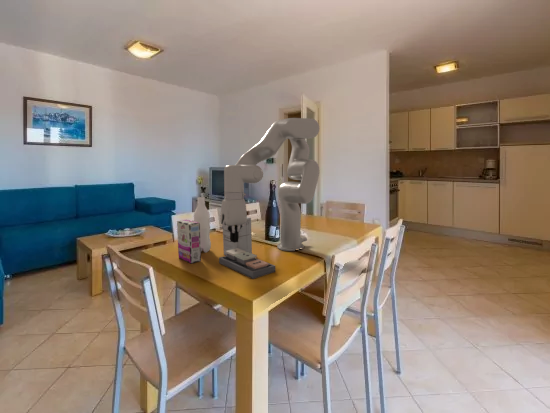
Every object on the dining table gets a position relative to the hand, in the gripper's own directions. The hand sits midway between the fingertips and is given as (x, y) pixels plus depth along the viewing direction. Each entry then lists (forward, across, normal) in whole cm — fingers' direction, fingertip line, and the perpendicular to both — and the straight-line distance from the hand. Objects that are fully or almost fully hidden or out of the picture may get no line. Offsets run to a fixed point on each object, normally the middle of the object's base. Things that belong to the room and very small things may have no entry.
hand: (234, 241), depth 122 cm
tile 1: (+7, -1, 0) cm, 7 cm away
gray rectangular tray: (+9, -1, +7) cm, 12 cm away
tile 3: (+8, -1, +14) cm, 16 cm away
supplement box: (+9, -8, -9) cm, 15 cm away
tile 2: (+7, -1, +7) cm, 10 cm away
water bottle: (+9, +1, -24) cm, 26 cm away
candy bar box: (+10, +11, -17) cm, 23 cm away
